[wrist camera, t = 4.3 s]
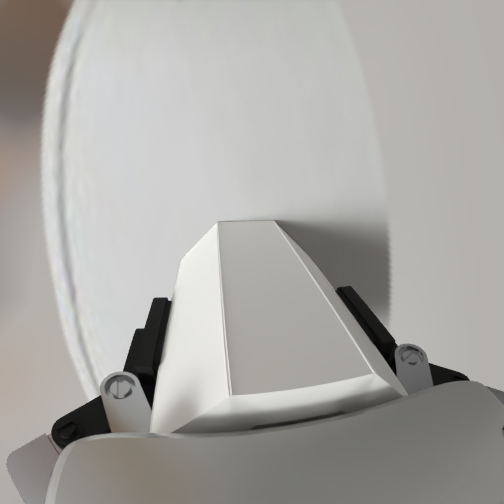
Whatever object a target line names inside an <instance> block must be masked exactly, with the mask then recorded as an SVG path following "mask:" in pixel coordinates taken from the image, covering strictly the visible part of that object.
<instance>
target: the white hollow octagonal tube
mask: <svg viewBox="0 0 504 504" xmlns="http://www.w3.org/2000/svg"><path fill="white" fill-rule="evenodd" d="M171 301H172V303H171V308H170V313H169V318H168V323H167V328H166V334H165V339H164V345H163V350H162V356H161V362H160V365H159V368H158V374H157V380H156V387H155V394H154V401H153V408H152V416H151V424H150V432H149V433H216V432H233V431H245V430H255V429H264V428H272V427H280V426H286V425H293V424H299V423H304V422H310V421H315V420H320V419H325V418H329V417H334V416H338V415H342V414H346V413H351V412H354V411H358V410H362V409H366V408H369V407H373V406H376V405H379V404H383V403H386V402H389V401H392V400H395V399H398V398H401V397H404V396H407V395H408V394H407V392H406V391H405V389H404V388H403V386H402V385H401V383H400V382H399V380H398V379H397V377H396V376H395V374H394V373H393V371H392V370H391V368H390V367H389V365H388V364H387V362H386V361H385V359H384V358H383V357H382V355H381V354H380V352H379V351H378V349H377V348H376V346H375V345H374V344H373V343H372V342H371V340H370V339H369V337H368V336H367V335H366V333H365V332H364V330H363V329H362V328H361V326H360V325H359V323H358V322H357V321H356V319H355V318H354V316H353V315H352V314H351V312H350V311H349V309H348V308H347V307H346V305H345V304H344V303H343V301H342V300H341V298H340V297H339V296H338V294H337V293H336V292H335V290H334V288H333V287H332V286H331V284H330V283H329V282H328V280H327V279H326V278H325V276H324V275H323V274H322V272H321V271H320V270H319V268H318V267H317V266H316V264H315V263H314V262H313V261H312V259H311V258H310V257H309V255H307V254H306V253H305V252H304V251H303V250H302V249H301V248H300V247H299V246H298V245H297V244H296V243H295V242H294V241H293V240H292V238H291V237H290V236H289V235H288V234H287V233H286V232H285V231H284V230H283V229H282V228H281V227H280V226H279V225H278V224H277V223H276V222H275V221H237V222H217V223H216V224H215V225H214V226H213V227H212V228H211V229H210V230H209V231H208V232H207V233H206V234H205V235H204V236H203V237H202V239H201V240H200V241H199V242H198V243H197V244H196V245H195V246H194V247H193V248H192V249H191V250H190V251H189V252H188V253H187V254H186V255H185V257H184V258H183V259H182V260H180V264H179V268H178V273H177V277H176V281H175V286H174V290H173V295H172V299H171Z"/></svg>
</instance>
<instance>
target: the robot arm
mask: <svg viewBox="0 0 504 504" xmlns="http://www.w3.org/2000/svg"><path fill="white" fill-rule="evenodd" d="M335 292H336V293H337V294H338V296H339V297H340V298H341V300H342V301H343V303H344V304H345V305H346V307H347V308H348V309H349V311H350V312H351V314H352V315H353V316H354V318H355V319H356V321H357V322H358V323H359V325H360V326H361V328H362V329H363V330H364V332H365V333H366V335H367V336H368V337H369V339H370V340H371V342H372V343H373V344H374V345H375V346H376V348H377V349H378V351H379V352H380V354H381V355H382V357H383V358H384V359H385V361H386V362H387V364H388V365H389V367H390V368H391V370H392V371H393V373H394V374H395V376H396V377H397V379H398V380H399V382H400V383H401V385H402V386H403V388H404V389H405V391H406V392H407V394H408V395H407V396H404V397H401V398H398V399H395V400H392V401H389V402H386V403H383V404H379V405H376V406H373V407H369V408H366V409H362V410H358V411H354V412H351V413H346V414H342V415H338V416H334V417H329V418H325V419H320V420H315V421H310V422H304V423H299V424H293V425H286V426H280V427H272V428H264V429H255V430H245V431H233V432H216V433H149V432H150V424H151V416H152V408H153V401H154V394H155V387H156V380H157V374H158V368H159V365H160V362H161V356H162V350H163V345H164V339H165V334H166V328H167V323H168V318H169V313H170V308H171V303H172V301H168V298H167V297H166V298H154V299H153V302H152V305H151V308H150V311H149V315H148V318H147V321H146V325H145V328H144V329H136V331H135V333H134V336H133V340H132V343H131V346H130V349H129V353H128V356H127V359H126V363H125V366H124V369H123V372H115V373H113V374H110V375H109V376H107V377H106V378H105V379H104V380H103V381H102V383H101V386H100V392H101V395H100V396H99V397H97V398H95V399H93V400H92V401H90V402H88V403H86V404H85V405H83V406H81V407H79V408H78V409H76V410H74V411H72V412H70V413H68V414H67V415H65V416H63V417H61V418H60V419H58V420H57V421H56V422H55V423H54V425H53V427H52V431H51V434H49V435H48V436H47V435H46V434H43V435H41V436H39V437H38V438H36V439H35V440H33V441H31V442H29V443H27V444H26V445H24V446H22V447H21V448H19V449H17V450H15V451H13V452H12V453H11V454H10V455H9V456H8V458H7V464H6V465H7V469H8V472H9V474H10V476H11V478H12V480H13V482H14V484H15V486H16V488H17V490H18V492H19V494H20V496H21V497H22V499H23V501H24V503H25V504H504V392H503V391H500V390H497V389H493V388H490V387H487V386H484V385H483V384H481V383H479V382H474V381H470V380H469V379H468V377H467V376H465V375H464V374H462V373H460V372H456V371H453V370H450V369H447V368H443V367H440V366H437V365H434V364H430V363H428V359H427V355H426V353H425V352H424V351H423V350H422V349H421V348H420V347H418V346H416V345H412V344H402V345H400V346H397V344H396V343H395V340H394V338H393V337H392V336H391V334H390V333H389V332H388V331H387V329H386V328H385V327H384V326H383V324H382V323H381V322H380V321H379V319H378V318H377V317H376V316H375V315H374V313H373V312H372V311H371V310H370V308H369V307H368V306H367V305H366V304H365V302H364V301H363V300H362V299H361V298H360V296H359V295H358V294H357V293H356V292H355V290H354V289H353V288H352V287H351V286H346V287H338V288H337V291H335Z"/></svg>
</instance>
